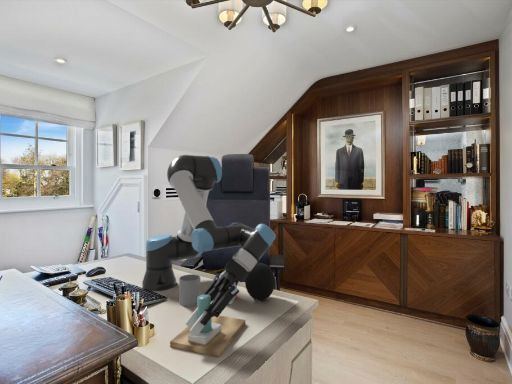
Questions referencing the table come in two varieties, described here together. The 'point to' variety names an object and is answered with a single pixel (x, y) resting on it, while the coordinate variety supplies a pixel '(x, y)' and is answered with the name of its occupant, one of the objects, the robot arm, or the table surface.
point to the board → (218, 342)
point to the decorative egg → (260, 282)
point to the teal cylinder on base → (209, 329)
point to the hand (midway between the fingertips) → (190, 329)
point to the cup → (189, 289)
